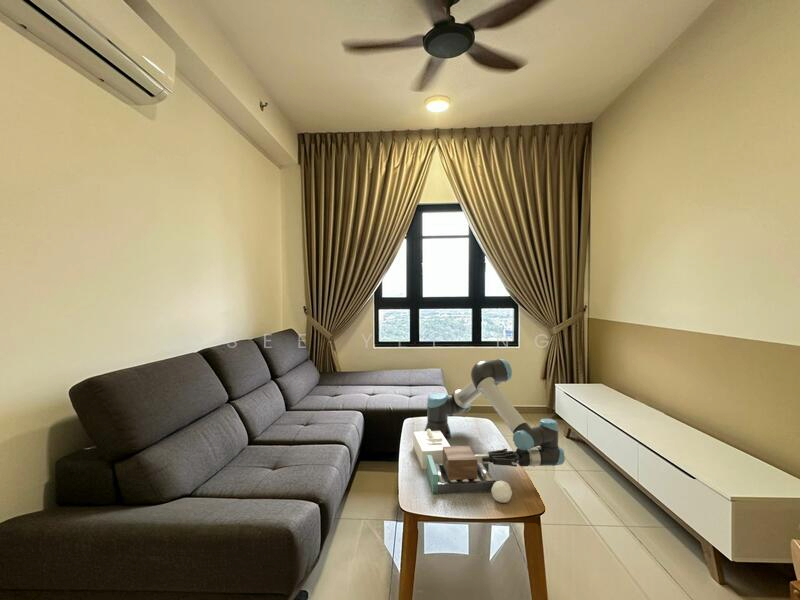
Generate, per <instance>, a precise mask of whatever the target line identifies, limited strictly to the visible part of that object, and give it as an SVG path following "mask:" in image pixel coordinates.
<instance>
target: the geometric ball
mask: <svg viewBox="0 0 800 600" xmlns="http://www.w3.org/2000/svg"><path fill="white" fill-rule="evenodd" d="M490 493H491V494H492V497H493V499H494V500H495V501H496V502H499V503H500V504H505V503H508V502H509V501H510V500H511V498H512V496H513V491H512V489H511V486H510V484H509V483H508V482H506V481H504V480H500V481H496V482H495V483H494V484H493V486H492V489H491V492H490Z"/></svg>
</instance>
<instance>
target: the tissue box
mask: <svg viewBox="0 0 800 600" xmlns="http://www.w3.org/2000/svg"><path fill="white" fill-rule="evenodd" d="M448 446H451V445H450V444H449V442H448V439H445V437H444V436H443V434H442V433H441V431H431V430H430V429H427V430H426V431H425V430H423V431H413V450H414V452H415V454H416V457H417V459H418V461H419V464H420V467H421V469H422V470H427V455H432V458H433V461H434V464H438V463H443V447H448Z"/></svg>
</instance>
